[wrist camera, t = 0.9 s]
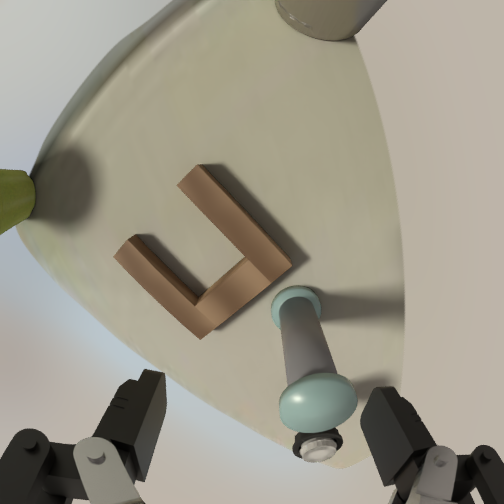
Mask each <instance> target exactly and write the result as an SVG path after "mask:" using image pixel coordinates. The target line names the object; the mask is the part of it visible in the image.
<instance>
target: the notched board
mask: <svg viewBox="0 0 504 504" xmlns="http://www.w3.org/2000/svg"><path fill="white" fill-rule="evenodd" d="M177 186H178V187H179V188H180V189H181V191H182V192H183V193H184V194H185V195H186V196H187V197H188V198H189V199H190V200H191V201H192V202H193V203H194V204H195V205H196V206H197V207H198V208H199V209H200V210H201V211H202V212H203V213H204V214H205V215H206V217H207V218H208V219H209V220H210V221H211V222H212V223H213V224H214V225H215V226H216V227H217V228H218V229H219V230H220V231H221V232H222V233H223V234H224V235H225V236H226V237H227V238H228V239H229V240H230V241H231V242H232V243H233V244H234V245H235V246H236V248H237V249H238V250H239V251H240V252H241V253H242V254H243V255H244V256H245V257H244V258H243V259H242V260H241V261H239V262H238V263H237V264H236V265H235V266H234V267H233V268H231V269H230V270H229V271H228V272H227V273H226V274H225V275H223V276H222V277H221V278H220V279H219V280H218V281H217V282H215V283H214V284H213V285H212V286H211V287H210V288H209V289H207V290H206V291H205V292H204V293H203V294H202V295H201V296H199V297H198V296H197V295H196V294H195V293H194V292H193V291H192V290H190V289H189V288H188V287H187V286H186V285H185V284H184V283H183V282H182V281H181V280H180V279H179V278H178V277H177V276H176V275H175V274H174V273H173V272H172V271H171V270H170V269H169V268H168V267H167V266H166V265H165V264H164V263H163V262H162V261H161V260H160V259H159V258H158V257H157V256H156V255H155V254H154V253H153V252H152V251H151V250H150V249H149V248H148V247H147V246H146V245H145V244H144V243H143V242H142V241H141V239H140V238H139V237H138V236H137V235H136V234H135V235H134V236H132V237H131V238H129V239H128V240H127V241H126V242H125V243H124V244H123V245H122V247H121V248H120V249H119V250H118V251H117V253H116V254H115V255H114V256H113V257H114V258H115V259H116V260H117V261H118V262H119V263H120V264H121V266H122V267H123V268H124V269H125V270H126V271H127V272H128V273H129V274H130V275H131V276H132V277H133V278H134V279H135V280H136V281H137V282H138V283H139V284H140V285H141V286H142V287H143V288H144V289H145V290H146V291H147V292H148V293H149V294H150V295H151V296H152V297H154V298H155V299H156V300H157V301H158V302H159V303H160V304H161V305H162V306H163V307H164V308H165V309H166V310H167V311H168V312H169V313H171V314H172V315H173V316H174V317H175V318H176V319H177V320H178V321H179V322H180V323H182V324H183V325H184V326H185V327H186V328H187V329H188V330H189V331H191V332H192V333H193V334H194V335H195V336H196V337H197V338H199V339H200V340H201V339H202V338H203V337H205V336H206V335H207V334H208V333H210V332H211V331H212V330H214V329H215V328H216V327H217V326H219V325H220V324H221V323H222V322H224V321H225V320H226V319H228V318H229V317H230V316H231V315H233V314H234V313H235V312H236V311H238V310H239V309H240V308H241V307H243V306H244V305H245V304H246V303H248V302H249V301H250V300H251V299H253V298H254V297H255V296H256V295H257V294H259V293H260V292H261V291H262V290H264V289H265V288H266V287H267V286H268V285H270V284H271V283H272V282H273V281H275V280H276V279H277V278H278V277H279V276H281V275H282V274H283V273H284V272H285V271H287V270H288V269H289V268H290V267H291V266H292V263H291V260H290V258H289V257H288V256H287V254H286V253H285V252H284V251H283V250H282V249H281V248H280V247H279V246H278V245H277V244H276V243H275V241H274V240H273V239H272V238H271V237H270V236H269V235H268V234H267V233H266V232H265V231H264V230H263V229H262V227H261V226H260V225H259V224H258V223H257V222H256V221H255V220H254V219H253V218H252V217H251V216H250V215H249V214H248V213H247V211H246V210H245V209H244V208H243V207H242V206H241V205H240V204H239V203H238V202H237V201H236V200H235V199H234V198H233V197H232V196H231V195H230V193H229V192H228V191H227V190H226V189H225V188H224V187H223V186H222V185H221V184H220V183H219V182H218V181H217V180H216V179H215V178H214V177H213V176H212V175H211V174H210V173H209V172H208V171H207V169H206V168H205V167H204V166H203V165H202V164H200V165H196V166H195V167H194V168H193V169H192V170H191V171H190V172H189V173H188V174H187V175H186V176H185V177H184V178H183V179H182V180H181V181H180V182H179V183H178V184H177Z"/></svg>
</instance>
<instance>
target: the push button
mask: <svg viewBox="0 0 504 504" xmlns="http://www.w3.org/2000/svg"><path fill="white" fill-rule="evenodd" d="M342 444H343V439H342V436H341V435H340V434H339V432H338V430H337V429H336V428H335V427H334V428H332V429H329V430H326V431H322V432H317V433H302V432H299V433H298V434H297V435H296V436H295V443H294V445H293V453H294V454H295V456H297V457H299V458H302V459H304V461H307V462H322V461H325V460H327V459H330V458H331V457H332V456H334V455H335V453H336V451H337V450H339V449H340V448H341V446H342Z"/></svg>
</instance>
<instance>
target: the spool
mask: <svg viewBox="0 0 504 504" xmlns="http://www.w3.org/2000/svg"><path fill="white" fill-rule="evenodd" d="M271 313H272V319H273V321H274V323H275V325H276V326H277V327H278V328H279V329H281V335H282V343H283V351H284V359H285V367H286V375H287V384H288V387H287V388H286V389H285V390H284V391H283V393H282V394H281V397H280V400H279V410H280V418H281V421H282V422H283V424H284V425H285V426H286V427H288V428H290V429H291V430H294V431H297V432H302V433H317V432H322V431H326V430H329V429H332V428H334V427H337V426H338V425H340V424H342V423H343V422H345V421H346V420H347V419H348V418H349V417H350V416H351V415H352V414H353V413H354V411H355V409H356V407H357V402H358V400H357V396H356V393H355V390H354V388H353V385H352V383H351V382H350V381H349V380H348V379H347V378H346V377H344V376H342V375H339V374H337V371H336V368H335V365H334V362H333V359H332V356H331V353H330V350H329V347H328V345H327V342H326V339H325V336H324V333H323V330H322V328H321V325H320V322H319V318H320V315H321V304H320V302H319V299H318V297H317V295H316V294H315V293H314V292H313V291H312V290H311V289H309V288H307V287H304V286H291V287H287V288H285V289H283V290H282V291H280V292H279V293H278V294H277V295H276V296H275V298H274V300H273V302H272V306H271Z"/></svg>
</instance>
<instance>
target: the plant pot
mask: <svg viewBox="0 0 504 504" xmlns="http://www.w3.org/2000/svg"><path fill="white" fill-rule="evenodd" d="M34 205H35V188H34V184H33V181H32V179H31V178H30V177H29V176H28V175H27V173H26V172H25V171H22V170H6V169H0V235H1V234H2V233H4V232H5V231H7V230H8V229H10V228H12V227H13V226H15V225H16V224H18V223H20V222H21V221H23V220H25V219H26V218H28V217H29V216H30V213H31V211H32V209H33V207H34Z"/></svg>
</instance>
